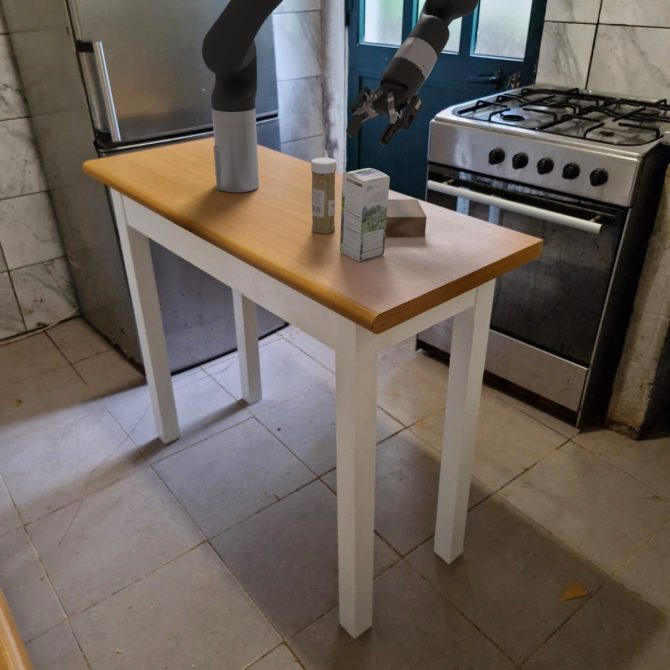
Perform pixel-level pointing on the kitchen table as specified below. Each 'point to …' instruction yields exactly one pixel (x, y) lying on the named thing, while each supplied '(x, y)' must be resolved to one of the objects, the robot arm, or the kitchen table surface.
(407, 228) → the plinth
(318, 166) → the sprinkles bottle
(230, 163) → the robot arm
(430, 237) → the kitchen table surface
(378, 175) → the syrup box
